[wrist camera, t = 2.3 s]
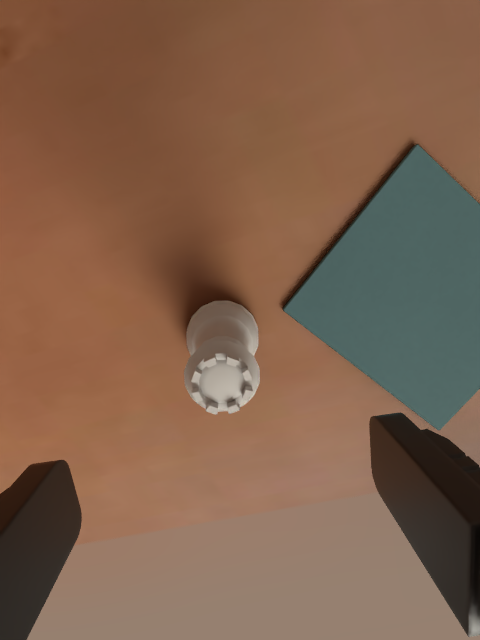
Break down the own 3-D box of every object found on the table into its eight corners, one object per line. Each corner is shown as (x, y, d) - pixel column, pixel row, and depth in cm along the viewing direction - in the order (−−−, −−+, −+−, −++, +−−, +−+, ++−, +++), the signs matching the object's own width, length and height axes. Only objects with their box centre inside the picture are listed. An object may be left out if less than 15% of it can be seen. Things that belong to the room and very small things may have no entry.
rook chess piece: (264, 358, 22) (286, 423, 14) (196, 373, 22) (181, 446, 14) (249, 291, 21) (265, 321, 13) (179, 307, 21) (152, 346, 13)
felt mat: (281, 309, 21) (282, 310, 21) (413, 145, 19) (417, 143, 19) (435, 427, 24) (439, 431, 23) (565, 292, 22) (572, 293, 21)
